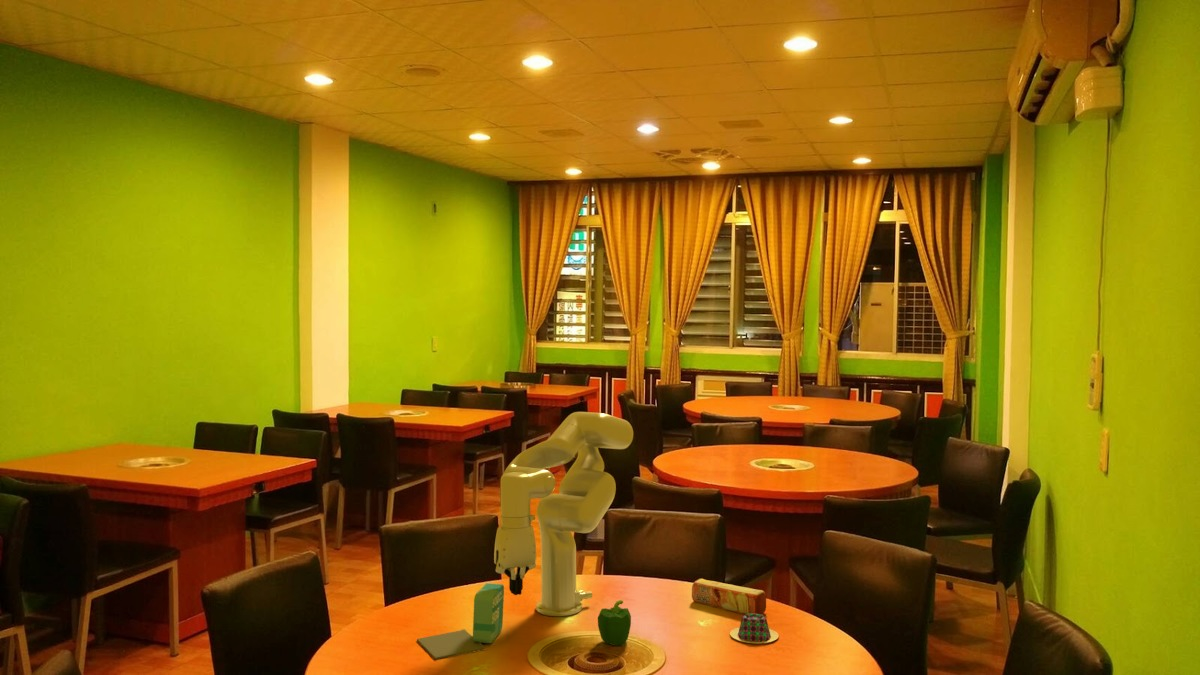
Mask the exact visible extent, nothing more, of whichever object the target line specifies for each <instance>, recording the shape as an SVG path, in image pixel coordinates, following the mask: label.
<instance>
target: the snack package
mask: <svg viewBox="0 0 1200 675" xmlns="http://www.w3.org/2000/svg"><path fill="white" fill-rule="evenodd" d="M691 599H692V601H693V602H694V603H697V604H702V605H707V606H711V607H714V608H718V609H722V610H726V611H731V612H734V613H739V614H741V615H742V614H743V615H746V614H752V613H755V614H761V615H764V613H765V612H766V610H767V595H766V592H765V591H764V590H762V589H756V588H755V589H754V588H751V587H745V586H739V585H734V584H730V583H729V584H728V583H723V582H720V581H714V580H707V579H704V578H698V579H697V580H695V581H693V584H692V585H691Z"/></svg>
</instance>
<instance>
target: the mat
mask: <svg viewBox="0 0 1200 675" xmlns="http://www.w3.org/2000/svg"><path fill="white" fill-rule="evenodd" d="M416 642H417V643H419V645H420V646H421V647H422V648H424V650H425V651H426V652H428V654H429V655H430V656H431V657H432V658H433V659H434V661H435V660H441V659H445V658H451V657H454V656H455V657H456V656H461V655H466V654H470V652H471V653H474V651H476V652H479V651H478V650H480V651H484V650H483V649H485V650H486V647H485V646H484V645H483V644H482V643H481V642H474V641H473V635H471V634H470V632H468V631H467V630H465V629H462V630H456V631H451V632H446V633H441V634H435V635H431V636H429V635H428V636H425V637H419V638H417V639H416Z"/></svg>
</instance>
